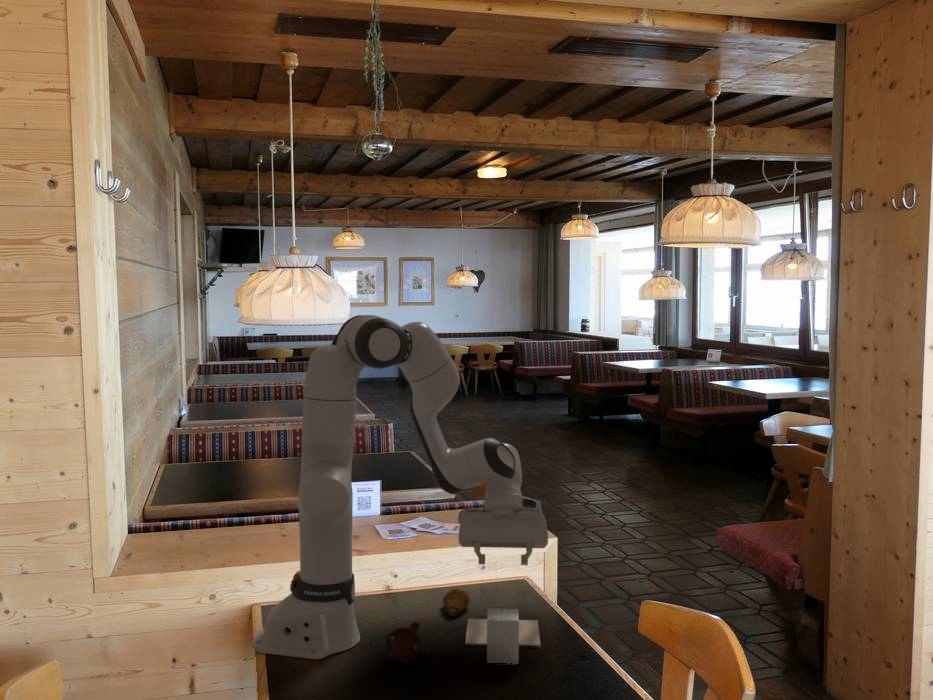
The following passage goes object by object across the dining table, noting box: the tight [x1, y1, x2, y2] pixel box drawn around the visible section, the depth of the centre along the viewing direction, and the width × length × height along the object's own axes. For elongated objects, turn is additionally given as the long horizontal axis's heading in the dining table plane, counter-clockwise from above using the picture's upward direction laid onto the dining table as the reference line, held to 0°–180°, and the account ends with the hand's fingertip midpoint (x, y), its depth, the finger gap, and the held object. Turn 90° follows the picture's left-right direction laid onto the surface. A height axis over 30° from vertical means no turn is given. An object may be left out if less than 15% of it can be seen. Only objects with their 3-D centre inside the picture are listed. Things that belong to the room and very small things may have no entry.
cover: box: [486, 607, 520, 665], centre depth 164 cm, size 6×6×9 cm
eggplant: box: [385, 621, 422, 662], centre depth 162 cm, size 7×7×15 cm
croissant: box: [442, 588, 471, 619], centre depth 190 cm, size 14×7×5 cm, turn 173°
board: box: [464, 618, 541, 648], centre depth 175 cm, size 16×13×1 cm
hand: (503, 563), depth 175 cm, fingers open, 8 cm apart
